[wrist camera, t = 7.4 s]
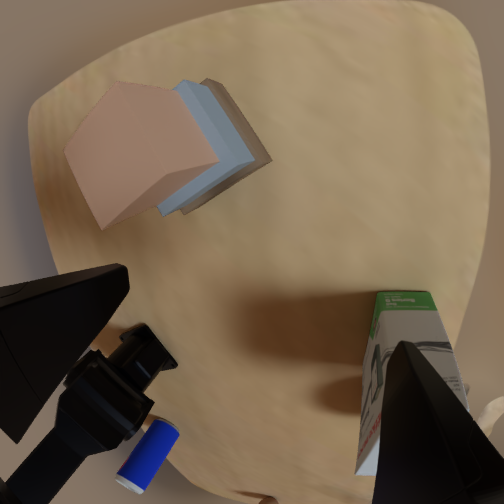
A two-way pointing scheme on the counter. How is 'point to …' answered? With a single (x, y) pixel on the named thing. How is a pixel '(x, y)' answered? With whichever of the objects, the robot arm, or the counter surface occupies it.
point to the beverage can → (147, 456)
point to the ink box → (381, 348)
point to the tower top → (220, 139)
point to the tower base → (246, 135)
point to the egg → (268, 501)
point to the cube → (136, 151)
